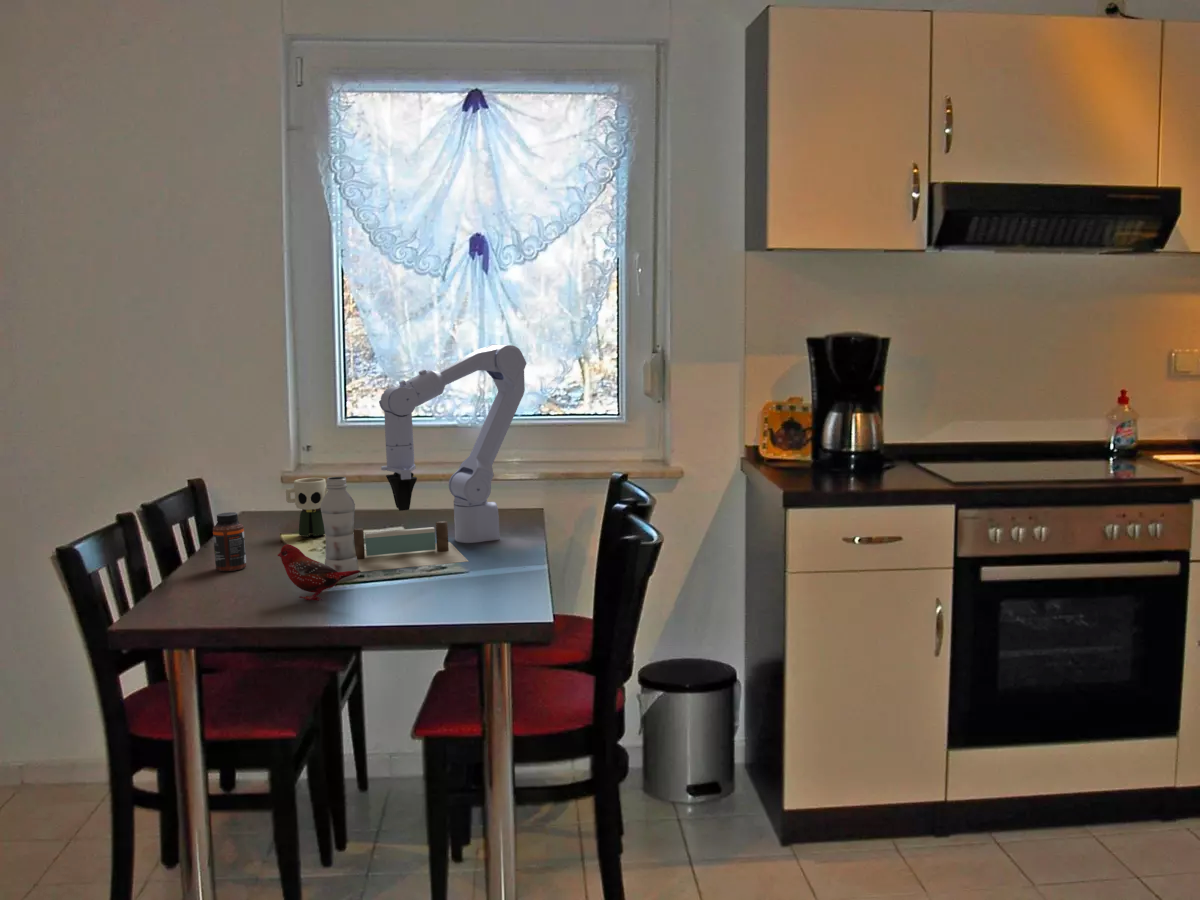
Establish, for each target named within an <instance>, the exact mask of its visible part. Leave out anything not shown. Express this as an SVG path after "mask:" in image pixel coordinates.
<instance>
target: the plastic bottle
mask: <svg viewBox="0 0 1200 900" xmlns="http://www.w3.org/2000/svg"><path fill="white" fill-rule="evenodd" d="M326 488H327V489H328V491H326V495H325V497H324V498H323V500H322V503H321V512H322V518H323V523H324V529H325V534H324V535H325V559H324V564H325V565H327V566H329V567H331V568H333V569H334V570H336V571H337V572H345V571H355V570H359V565H358V560H357V557H356V552H355V544H354V533H353V532H354V529H355V527H354V526H355V525H354V523H355V510H356V503H355V501H354V499H353V497H352V496H351V494H350V493H349V492H348V491H347V490H346V488H348V484H347V477H346V476H331V477H327V478H326ZM358 576H359V573H357V574H354V575H351V576H348V577H345V578H342V579H341V580H339V581H338V582H345V581H350V580H354V579H356V578H357V577H358Z"/></svg>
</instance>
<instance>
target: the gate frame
mask: <svg viewBox="0 0 1200 900" xmlns="http://www.w3.org/2000/svg"><path fill="white" fill-rule="evenodd" d="M448 527H449V525H448V521H445V520H440V521H436V522H435V541H436V542H435V548H436V550H426V551H415V552H404V553H393V554H382V555H371V556H367V555H366V549H365V536H364V535H365V533H364V528H361V527H359V528H358V527H357V528H354V532H353V534H354V544H355V552H356V557H357V560H358V565H359V570H360V571H361V572H360V573H362V572H363V573H364V572H373V571H383V570H395V569H405V568H413V567H425V566H436V565H445V564H456V563H467V562H468V563H469V560H468V559H467V558H466V557H465V555H463V554H462V553H461V552H460V551H459V550H458V549H457V548H456V547H455V545H454V544H453V543H451V541H449V529H448Z"/></svg>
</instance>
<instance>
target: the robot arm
mask: <svg viewBox="0 0 1200 900" xmlns="http://www.w3.org/2000/svg"><path fill="white" fill-rule="evenodd" d="M526 367H527V361H526V359H525V357H524V354H523V352H522V351H521V349H520V348H519V347H517V346H516V345H513V344H507V345H504V344H503V345H502V344H495V343H492V344H489V345H487V346H485V347H482V348H478V349H476V350H475V351H473V352H471V353H469V354H467V355H465V356H463V357H461V358H460V359H457V361H455V362H453V363H451V364H450V365H447V366H446V367H444V368H442V369H440V370H439V371H435V370H433V369H427V370H426V369H421V370H419V371H418V375H416V376H413V377H412V378H410V379H407V380H401V381H399V383H398V384H399V386H390V387H388V388H386V389H385V390H384V391H383V393H382V394H381V396H380V400H379V401H378V403H379V407H380V408H381V410H382V411H383V412H384V437H385V438H384V439H385V456H386V465H382V466H380V470H381V471H387V472H392V473H393V474H392V473H391V474H386V475H385V477H386V480H387V481H388V483H389V485H390V488H391V491H392V496H393V500H394V503H395V507H396V508H397V509H398V511H399V512H400V511H401V512H402V511H410V508H411V501H412V495H413V490H414V488H415V487H414V486H415V484H416V482H417V479H418V477H416V476H414V473H413V471H414V470H415V469H416V464H415V451H414V450H415V448H414V447H415V445H414V430H413V429H414V427H413V414H412V413H413V412H414V411H415V410H416V408H417V407H419V406H421V405H423V404H425V403H427V402H429V401H431V400H433V399H434V398H436V397H438V396H441V395H442V394H443V393H444V390H445V388H446V386H447V385H449V384H451V383H454V382H456V381H458V380H460V379H462V378H464V377H467V376H469V375H471V374H473V373H475V372H478V371H482V372H483V371H485V372H486V373H487V374H488V375H489V376H490V378H492V380H493V383H494V384H495V387H496V389H497V393H496V396H495V398H494V400H493V402H492V404H491V406H490V409H489V411H488V414H486V415H487V416H486V417H485V420H484V422H483V425H482V427H481V430H480V431H479V433H478V435H477V438H476V440H475V443H474V445H473V447H472V450H471V451H470V453H469V455H468V457H467V458H466V459H464V460H463V461H462V462H461V463H460V466H459V468H458V469H457V470H456V471H455V472H454V473H453V474H452V475H451V476H450V477H449V481H448V489H449V492H450V494H451V495H452V496H453V497H454V499H453V515H454V516H453V518H454V520H453V521H454V538H455V539H454V541H455V542H457V543H463V544H464V543H465V544H470V543H471V544H472V543H473V544H474V543H481V542H489V541H490V542H491V541H499V540H500V539H501V538H500V517H499V508H498V505H497V502H496V501H488V499H489V497H490V495H491V493H492V482H493V478H494V475H495V474H494V470H493V465H494V462H495V460H496V458H497V455H498V453H499V451H500V450H501V449H500V448H501V446H502V444H503V442H504V439H505V437H506V435H507V432H508V431H509V428H510V427H511V424H512V422H513V419H514V417H515V415H516V412H517V411H518V408H519V406H520V403H521V401H522V399H523V396H524V395H525V391H526V390H525V387H526V386H525V384H526V383H525V369H526Z"/></svg>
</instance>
